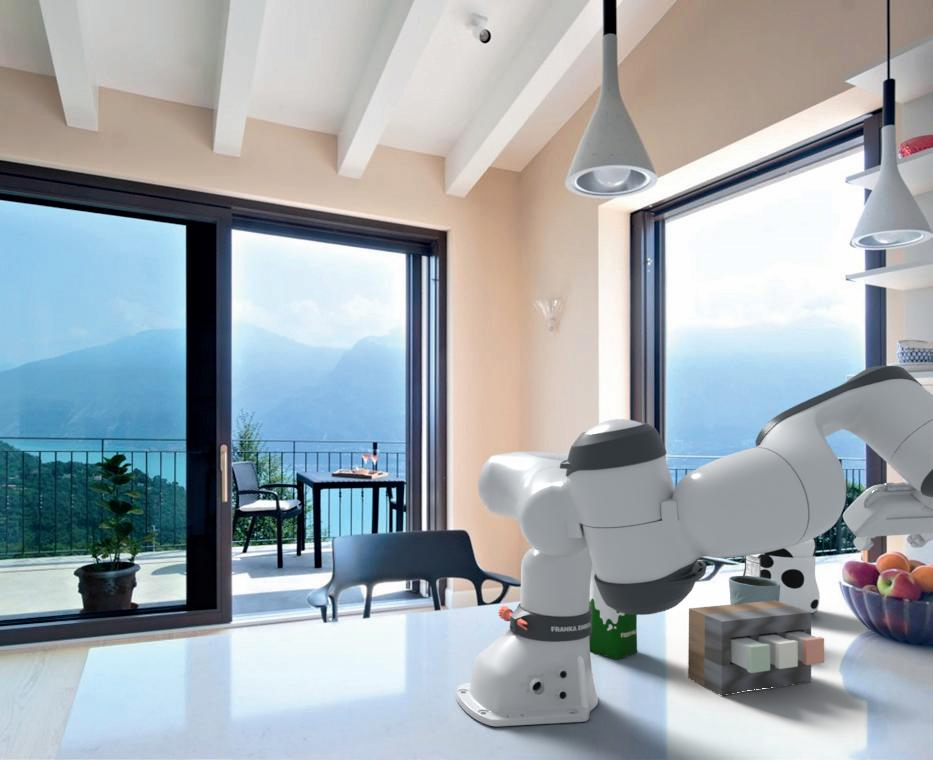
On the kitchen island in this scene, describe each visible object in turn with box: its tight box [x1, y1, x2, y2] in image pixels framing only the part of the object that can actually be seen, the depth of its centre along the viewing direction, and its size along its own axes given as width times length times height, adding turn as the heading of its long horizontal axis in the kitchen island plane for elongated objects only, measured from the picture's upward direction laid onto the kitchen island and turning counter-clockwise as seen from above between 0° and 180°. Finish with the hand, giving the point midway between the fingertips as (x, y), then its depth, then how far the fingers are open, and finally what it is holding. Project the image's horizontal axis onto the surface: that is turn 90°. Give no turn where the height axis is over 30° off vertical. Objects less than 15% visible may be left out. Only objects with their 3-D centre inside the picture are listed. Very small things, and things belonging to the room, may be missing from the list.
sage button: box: [730, 637, 770, 673], centre depth 110 cm, size 4×5×4 cm
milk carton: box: [589, 565, 638, 661], centre depth 131 cm, size 9×9×20 cm
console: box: [687, 600, 812, 696], centre depth 118 cm, size 20×8×12 cm, turn 112°
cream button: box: [758, 634, 798, 669], centre depth 112 cm, size 4×5×4 cm
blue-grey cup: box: [728, 575, 780, 605], centre depth 142 cm, size 10×10×12 cm
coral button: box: [785, 631, 825, 666], centre depth 115 cm, size 4×5×4 cm
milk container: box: [742, 538, 821, 616], centre depth 163 cm, size 17×17×18 cm
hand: (886, 545), depth 99 cm, fingers open, 8 cm apart
